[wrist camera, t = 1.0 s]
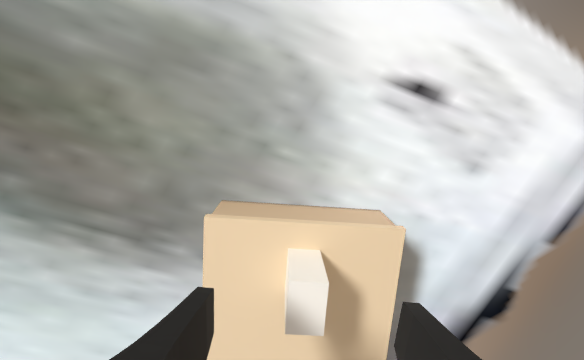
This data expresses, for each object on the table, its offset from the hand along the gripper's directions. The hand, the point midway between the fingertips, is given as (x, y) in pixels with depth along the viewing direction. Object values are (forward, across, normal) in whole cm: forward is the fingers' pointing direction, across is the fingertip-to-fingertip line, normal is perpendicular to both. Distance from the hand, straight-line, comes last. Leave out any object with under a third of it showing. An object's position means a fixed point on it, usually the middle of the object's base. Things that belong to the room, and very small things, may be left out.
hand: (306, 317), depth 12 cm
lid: (+8, 0, +7) cm, 10 cm away
